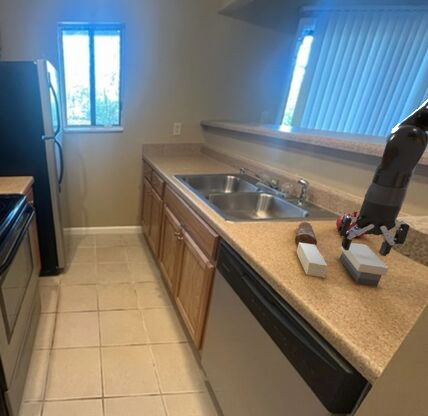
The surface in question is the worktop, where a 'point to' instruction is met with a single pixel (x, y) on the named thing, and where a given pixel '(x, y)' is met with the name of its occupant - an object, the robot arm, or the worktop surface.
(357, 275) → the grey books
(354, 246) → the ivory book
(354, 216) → the pomegranate
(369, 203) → the robot arm
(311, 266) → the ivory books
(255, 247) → the worktop surface
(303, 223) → the bread
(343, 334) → the worktop surface
